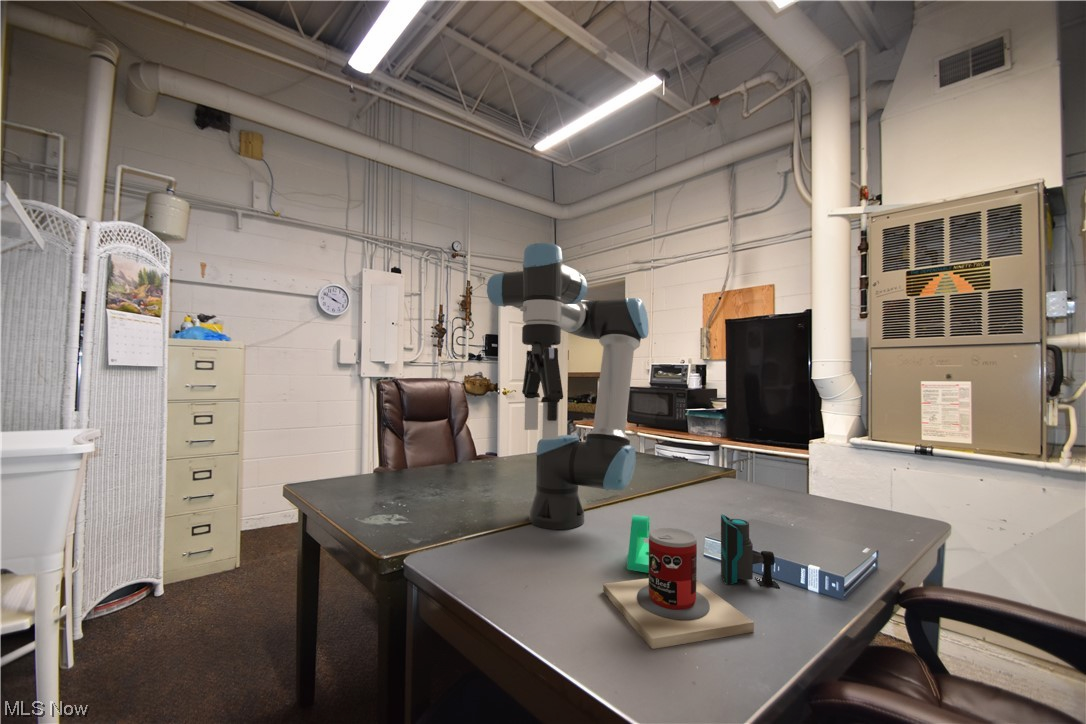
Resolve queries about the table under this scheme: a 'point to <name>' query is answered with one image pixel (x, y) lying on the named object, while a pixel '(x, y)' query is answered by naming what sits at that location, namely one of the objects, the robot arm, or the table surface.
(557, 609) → the table surface
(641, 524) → the camera mount
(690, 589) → the canned food
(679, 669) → the table surface
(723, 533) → the surveillance camera
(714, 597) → the wooden square board
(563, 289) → the robot arm
